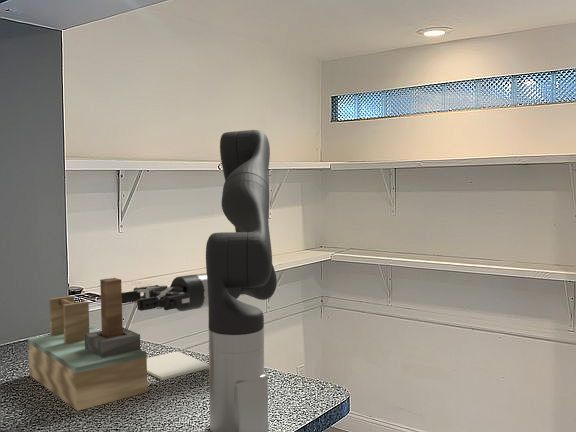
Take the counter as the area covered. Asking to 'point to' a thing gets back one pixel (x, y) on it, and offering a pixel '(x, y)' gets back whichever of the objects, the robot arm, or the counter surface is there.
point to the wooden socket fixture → (86, 359)
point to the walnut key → (111, 307)
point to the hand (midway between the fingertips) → (128, 301)
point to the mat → (173, 365)
